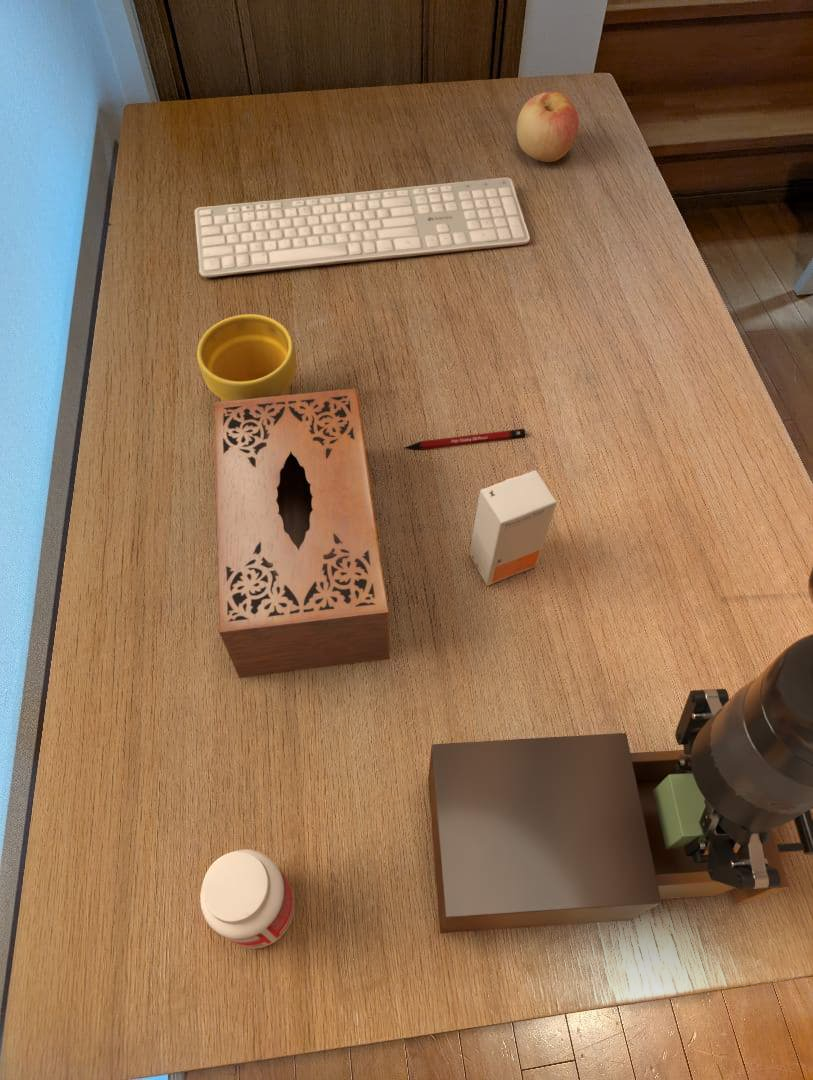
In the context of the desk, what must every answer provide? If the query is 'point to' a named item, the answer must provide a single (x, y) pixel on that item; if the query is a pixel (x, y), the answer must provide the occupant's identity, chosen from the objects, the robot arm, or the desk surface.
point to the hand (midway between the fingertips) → (689, 816)
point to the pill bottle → (247, 899)
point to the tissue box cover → (297, 535)
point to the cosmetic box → (511, 526)
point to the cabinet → (538, 833)
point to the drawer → (678, 869)
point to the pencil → (468, 439)
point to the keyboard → (358, 227)
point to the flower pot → (247, 358)
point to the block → (679, 809)
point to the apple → (547, 126)
